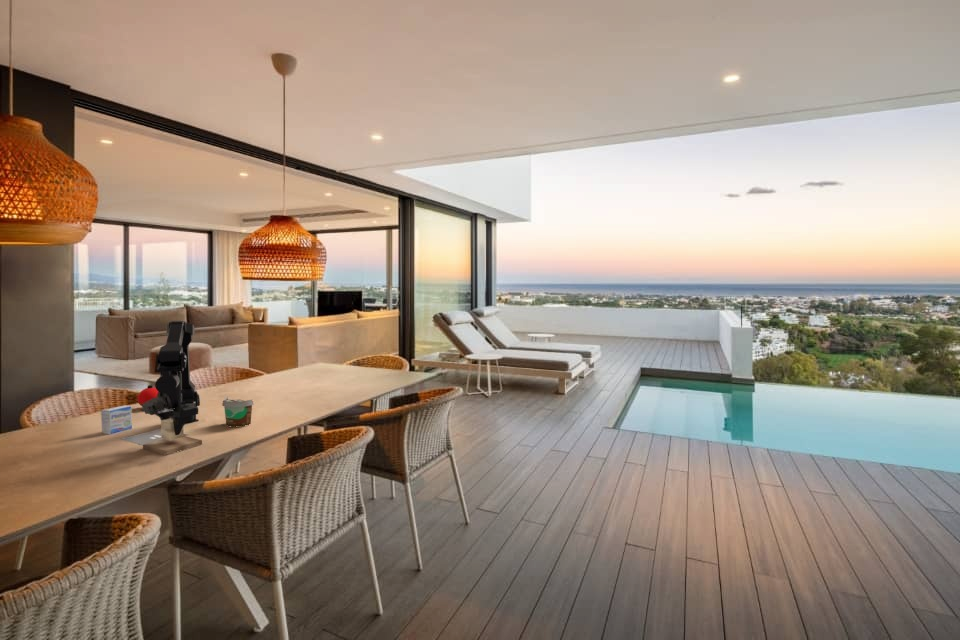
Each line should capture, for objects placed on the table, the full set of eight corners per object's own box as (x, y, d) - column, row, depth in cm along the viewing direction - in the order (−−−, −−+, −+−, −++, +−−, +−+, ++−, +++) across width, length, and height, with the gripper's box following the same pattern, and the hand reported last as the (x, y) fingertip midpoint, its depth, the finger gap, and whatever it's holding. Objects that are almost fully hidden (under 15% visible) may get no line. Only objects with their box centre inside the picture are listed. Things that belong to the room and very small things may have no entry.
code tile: (161, 429, 179) (161, 428, 179) (188, 435, 172) (188, 434, 172) (119, 439, 166) (119, 438, 166) (147, 446, 159) (147, 446, 159)
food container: (214, 426, 183) (214, 400, 183) (226, 422, 189) (226, 397, 189) (242, 429, 181) (242, 403, 180) (253, 424, 186) (253, 399, 186)
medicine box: (110, 435, 171) (109, 411, 170) (101, 433, 172) (100, 409, 172) (132, 429, 178) (131, 405, 178) (123, 427, 180) (123, 404, 179)
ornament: (167, 407, 209) (166, 384, 208) (143, 412, 202) (143, 388, 201) (157, 404, 214) (156, 382, 213) (133, 408, 206) (133, 385, 206)
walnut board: (179, 439, 168) (179, 434, 168) (202, 444, 163) (201, 440, 163) (143, 449, 157) (142, 444, 157) (165, 455, 152) (165, 450, 152)
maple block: (175, 434, 163) (174, 417, 162) (183, 436, 161) (183, 419, 160) (161, 438, 159) (161, 420, 158) (170, 440, 157) (169, 422, 156)
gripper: (128, 388, 155) (129, 436, 156) (164, 395, 147) (165, 445, 148) (163, 382, 165) (164, 427, 166) (199, 388, 157) (200, 435, 158)
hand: (172, 433), depth 160 cm, fingers closed on maple block, 4 cm apart
